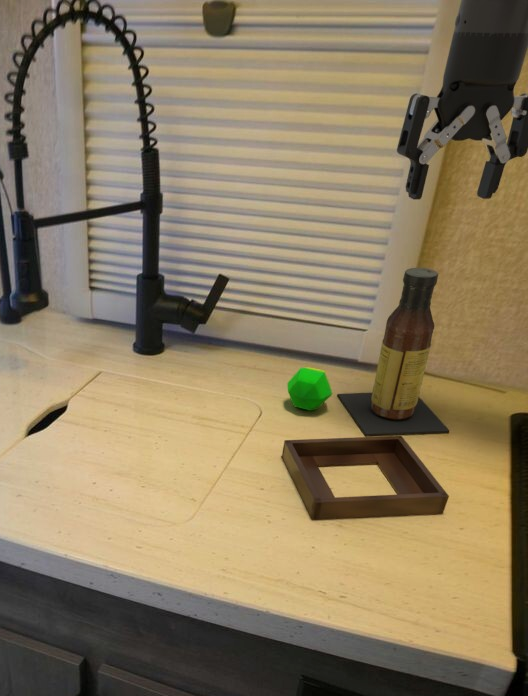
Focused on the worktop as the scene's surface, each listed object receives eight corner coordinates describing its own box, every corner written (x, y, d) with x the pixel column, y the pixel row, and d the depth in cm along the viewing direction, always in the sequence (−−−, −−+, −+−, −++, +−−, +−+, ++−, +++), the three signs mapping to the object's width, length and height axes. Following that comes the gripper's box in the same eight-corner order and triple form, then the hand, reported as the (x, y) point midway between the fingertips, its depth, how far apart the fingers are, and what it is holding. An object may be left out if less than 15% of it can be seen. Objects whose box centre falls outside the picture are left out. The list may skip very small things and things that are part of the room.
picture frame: (396, 451, 88) (401, 435, 86) (443, 513, 77) (449, 496, 75) (281, 456, 87) (284, 439, 85) (312, 519, 76) (315, 502, 74)
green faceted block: (309, 368, 91) (327, 344, 97) (272, 388, 95) (291, 364, 101) (335, 411, 92) (351, 385, 99) (298, 429, 97) (315, 402, 103)
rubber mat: (413, 393, 101) (413, 391, 101) (449, 433, 92) (449, 430, 92) (336, 396, 100) (337, 393, 100) (365, 436, 91) (365, 433, 91)
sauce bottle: (416, 407, 97) (455, 268, 85) (410, 426, 92) (451, 282, 81) (370, 397, 99) (402, 261, 87) (362, 416, 95) (395, 275, 83)
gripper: (443, 29, 65) (403, 206, 75) (580, 29, 66) (523, 204, 76) (411, 27, 71) (379, 192, 81) (538, 28, 72) (490, 190, 82)
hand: (449, 197), depth 78 cm, fingers open, 8 cm apart
